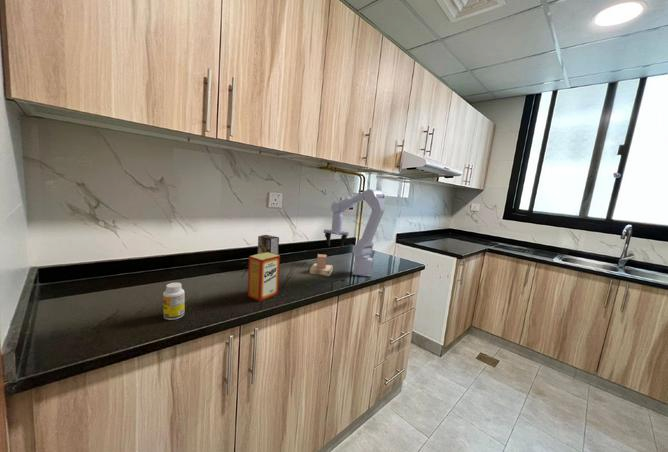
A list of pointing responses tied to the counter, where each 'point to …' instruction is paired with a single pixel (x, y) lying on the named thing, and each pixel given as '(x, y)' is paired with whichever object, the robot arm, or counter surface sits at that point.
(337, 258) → the counter surface
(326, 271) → the oak block
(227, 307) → the counter surface
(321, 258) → the pinkish brown block
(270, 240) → the grey tall block
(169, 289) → the supplement bottle
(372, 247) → the robot arm
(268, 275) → the baking soda box
